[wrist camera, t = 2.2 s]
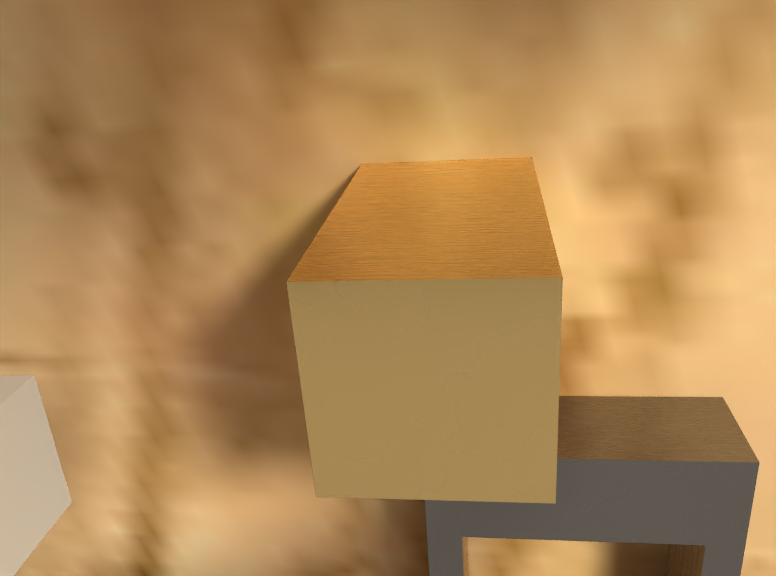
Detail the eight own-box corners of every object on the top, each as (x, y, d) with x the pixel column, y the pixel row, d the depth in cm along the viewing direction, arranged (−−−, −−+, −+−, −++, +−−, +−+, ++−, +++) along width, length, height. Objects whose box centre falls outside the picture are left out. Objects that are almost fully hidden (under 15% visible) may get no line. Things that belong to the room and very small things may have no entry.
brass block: (361, 163, 19) (286, 282, 12) (531, 157, 18) (562, 277, 11) (374, 314, 21) (316, 496, 14) (530, 312, 20) (555, 503, 13)
